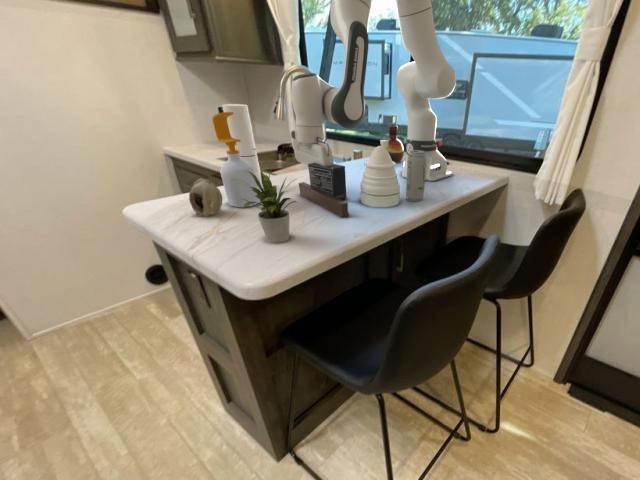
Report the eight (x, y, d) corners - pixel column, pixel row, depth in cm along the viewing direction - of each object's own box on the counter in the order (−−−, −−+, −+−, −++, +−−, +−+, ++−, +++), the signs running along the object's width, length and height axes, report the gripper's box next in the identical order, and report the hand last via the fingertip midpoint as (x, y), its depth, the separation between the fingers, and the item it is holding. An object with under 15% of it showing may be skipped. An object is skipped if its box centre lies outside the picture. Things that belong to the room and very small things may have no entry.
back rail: (305, 194, 110) (304, 182, 108) (348, 216, 94) (347, 202, 92) (300, 195, 109) (298, 183, 107) (342, 217, 93) (341, 203, 91)
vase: (405, 159, 163) (407, 125, 155) (401, 164, 154) (402, 127, 146) (384, 157, 165) (384, 123, 156) (378, 162, 156) (378, 126, 147)
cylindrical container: (266, 185, 117) (251, 104, 102) (257, 191, 111) (240, 106, 97) (247, 184, 117) (229, 103, 103) (237, 189, 111) (217, 105, 97)
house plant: (229, 240, 78) (209, 168, 69) (275, 223, 88) (263, 158, 78) (269, 255, 72) (253, 180, 63) (314, 235, 82) (306, 167, 73)
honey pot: (377, 192, 114) (376, 136, 104) (407, 200, 109) (410, 141, 98) (352, 201, 106) (349, 140, 95) (383, 210, 100) (384, 146, 90)
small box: (348, 198, 108) (346, 165, 102) (334, 203, 103) (332, 169, 97) (324, 192, 112) (321, 160, 106) (310, 197, 108) (306, 163, 102)
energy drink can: (422, 202, 107) (425, 153, 99) (404, 200, 108) (406, 152, 100) (424, 197, 112) (428, 150, 104) (407, 195, 113) (409, 149, 105)
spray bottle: (241, 209, 95) (218, 114, 81) (222, 203, 99) (197, 111, 85) (266, 202, 102) (249, 112, 88) (247, 196, 105) (228, 109, 91)
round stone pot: (201, 218, 95) (185, 183, 91) (231, 211, 96) (217, 176, 93) (192, 220, 86) (175, 181, 83) (226, 212, 88) (210, 173, 84)
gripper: (337, 139, 98) (340, 186, 106) (305, 130, 110) (310, 173, 118) (318, 140, 94) (323, 189, 102) (287, 131, 107) (293, 175, 115)
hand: (315, 180), depth 110 cm, fingers closed
